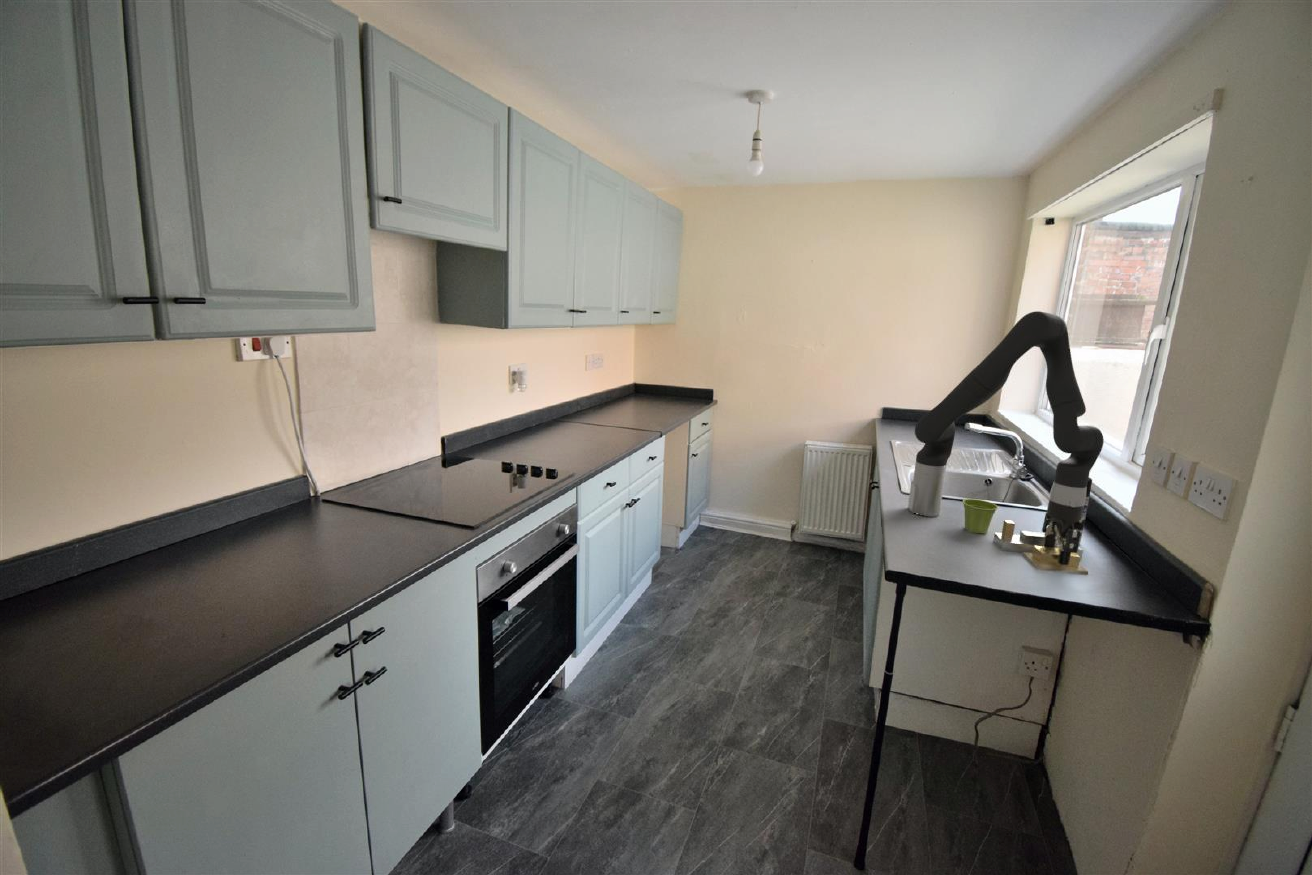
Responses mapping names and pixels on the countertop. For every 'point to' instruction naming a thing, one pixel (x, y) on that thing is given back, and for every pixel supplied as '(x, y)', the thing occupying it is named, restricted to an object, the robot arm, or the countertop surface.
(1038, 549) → the lever cap
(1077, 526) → the spray can
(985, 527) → the plant pot
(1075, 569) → the cork mat
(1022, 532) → the plane body
